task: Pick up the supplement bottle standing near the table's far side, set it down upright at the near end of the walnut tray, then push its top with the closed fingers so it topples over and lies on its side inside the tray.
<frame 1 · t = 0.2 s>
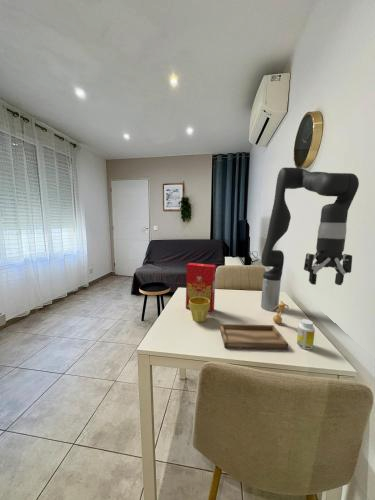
hand: (325, 284, 69), 28 cm above the table, fingers open, 8 cm apart
figurine: (278, 324, 97), on the table
plant pot: (198, 319, 100), on the table
food packaging: (199, 309, 112), on the table
tray: (250, 338, 84), on the table
supplement bottle: (304, 346, 80), on the table
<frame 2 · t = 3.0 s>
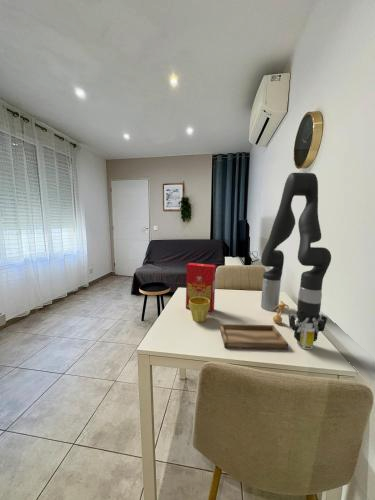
hand: (305, 339, 80), 3 cm above the table, fingers closed on supplement bottle, 5 cm apart
supplement bottle: (304, 346, 80), on the table, touching gripper
everything else where it was.
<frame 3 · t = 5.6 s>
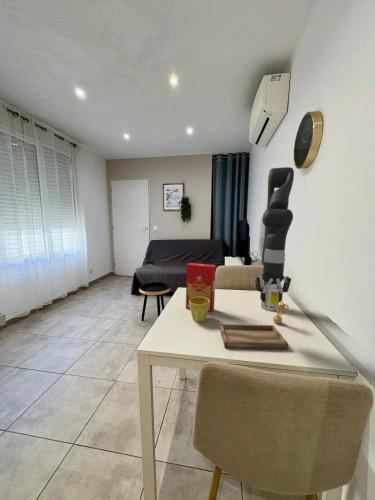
hand: (270, 301, 82), 16 cm above the table, fingers closed on supplement bottle, 5 cm apart
supplement bottle: (270, 307, 82), point 14 cm above the table, touching gripper
everything else where it was.
when the fingers open (5 cm above the table, at t = 8.1 s): supplement bottle drops 1 cm, resting on tray.
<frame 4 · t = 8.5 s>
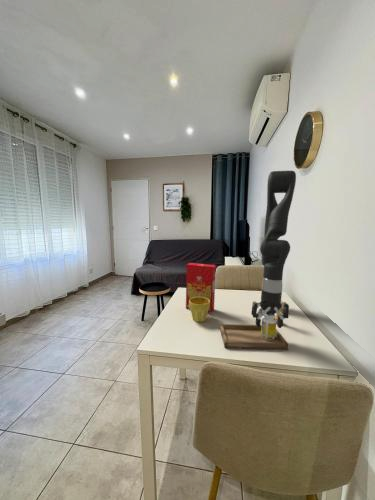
hand: (268, 326, 83), 5 cm above the table, fingers open, 8 cm apart
supplement bottle: (267, 337, 84), point 1 cm above the table, touching tray
everything else where it was.
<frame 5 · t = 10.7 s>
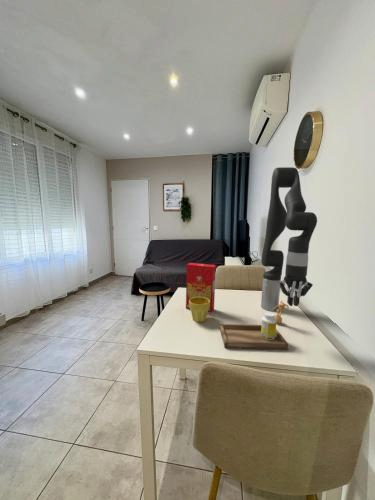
hand: (292, 305, 82), 15 cm above the table, fingers closed
nothing on the table moved.
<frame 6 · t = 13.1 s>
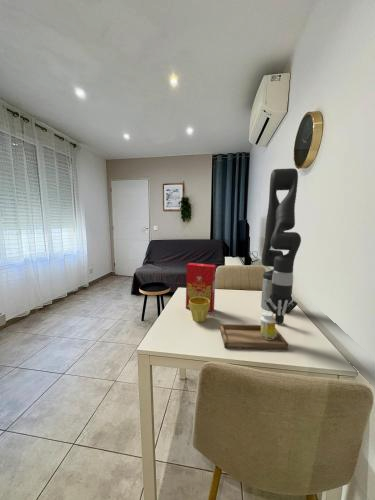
hand: (279, 322, 83), 7 cm above the table, fingers closed
supplement bottle: (267, 337, 84), point 1 cm above the table, touching gripper, tray
everything else where it was.
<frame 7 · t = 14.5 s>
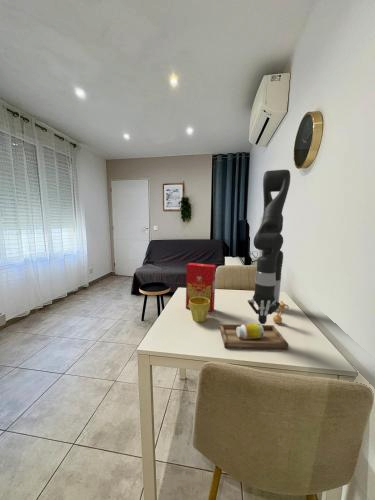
hand: (262, 323, 83), 7 cm above the table, fingers closed
supplement bottle: (261, 330, 84), point 4 cm above the table, touching tray
everything else where it was.
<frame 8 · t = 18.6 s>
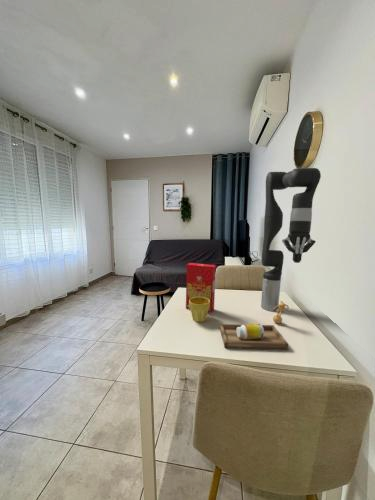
hand: (296, 262, 84), 32 cm above the table, fingers closed
nothing on the table moved.
at the end: supplement bottle tilted 90°; supplement bottle inside the target area on the tray (4.4 cm from its centre), point 3.6 cm above the tray's base; the gripper is holding nothing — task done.
